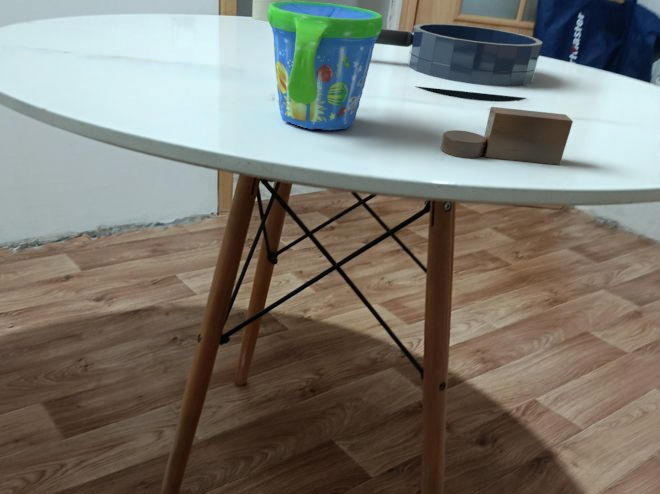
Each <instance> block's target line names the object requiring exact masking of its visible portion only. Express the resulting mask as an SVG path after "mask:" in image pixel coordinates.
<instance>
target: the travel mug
mask: <svg viewBox="0 0 660 494" xmlns="http://www.w3.org/2000/svg"><path fill="white" fill-rule="evenodd" d="M281 1H300V0H252V11H251V12H252V15H251V17H252V19H254V20H258V21H262V22H268V23H269V21H268V16H267V14H268V10H269V5H270V4H271V3H274V2H281Z"/></svg>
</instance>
